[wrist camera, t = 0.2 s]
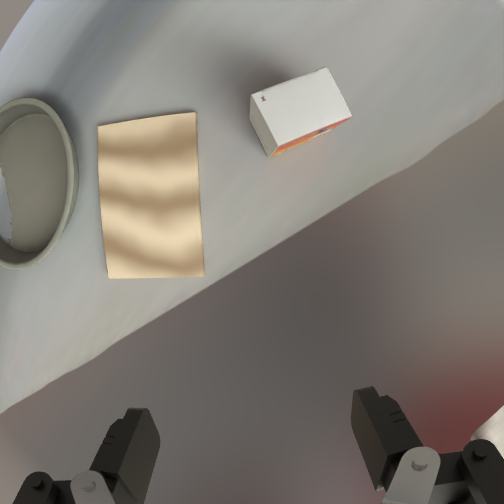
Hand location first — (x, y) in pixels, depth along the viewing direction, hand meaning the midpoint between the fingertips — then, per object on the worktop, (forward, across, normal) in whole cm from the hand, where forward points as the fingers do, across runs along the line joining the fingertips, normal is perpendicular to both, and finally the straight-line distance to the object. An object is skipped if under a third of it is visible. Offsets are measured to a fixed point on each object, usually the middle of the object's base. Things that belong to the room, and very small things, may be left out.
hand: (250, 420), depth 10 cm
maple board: (+28, +12, -8) cm, 32 cm away
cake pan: (+29, +32, -15) cm, 46 cm away
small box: (+29, -7, -15) cm, 33 cm away
